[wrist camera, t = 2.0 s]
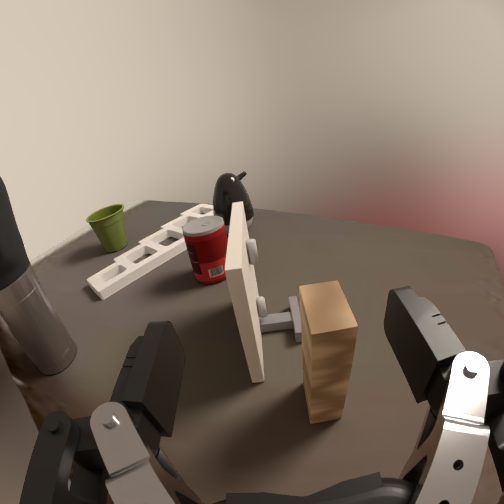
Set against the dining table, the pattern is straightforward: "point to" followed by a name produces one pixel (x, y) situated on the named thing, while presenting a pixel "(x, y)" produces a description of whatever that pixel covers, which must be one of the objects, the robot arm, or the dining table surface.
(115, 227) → the plant pot
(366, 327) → the dining table surface
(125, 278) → the holder
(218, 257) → the canned food
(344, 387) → the tall wooden block
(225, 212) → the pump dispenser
